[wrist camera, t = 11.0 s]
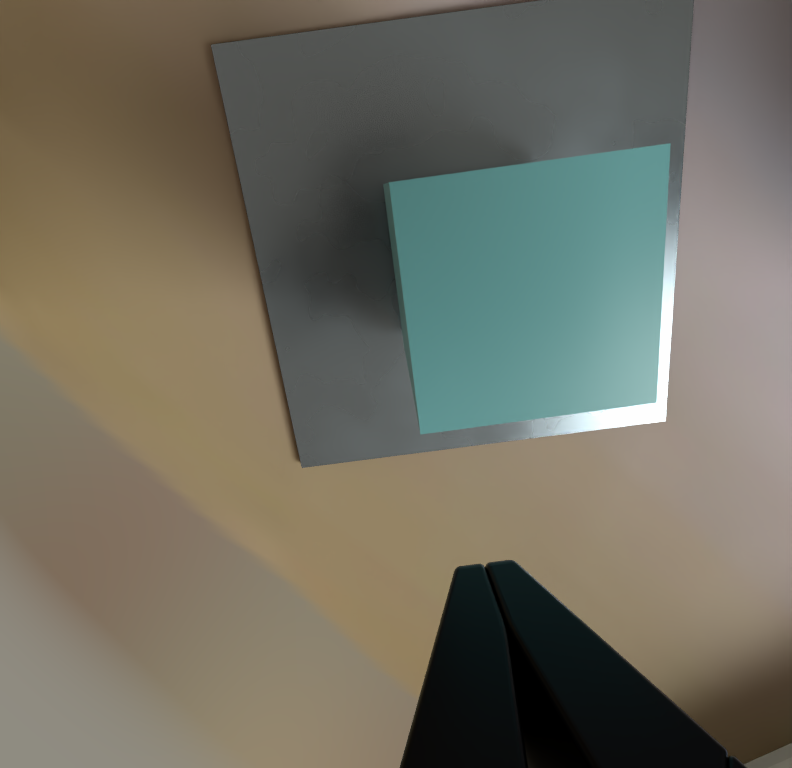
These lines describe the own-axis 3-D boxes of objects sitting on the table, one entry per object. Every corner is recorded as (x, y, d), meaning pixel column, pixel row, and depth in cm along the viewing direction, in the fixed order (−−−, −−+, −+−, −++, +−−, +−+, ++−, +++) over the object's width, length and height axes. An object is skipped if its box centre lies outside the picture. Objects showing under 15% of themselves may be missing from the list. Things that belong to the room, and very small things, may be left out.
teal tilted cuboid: (553, 160, 16) (670, 143, 10) (557, 327, 18) (656, 403, 11) (383, 184, 16) (388, 182, 10) (404, 347, 18) (420, 434, 11)
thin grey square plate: (689, -17, 15) (934, -176, 9) (661, 417, 20) (802, 530, 14) (213, 47, 15) (90, -61, 9) (302, 464, 20) (267, 598, 14)
